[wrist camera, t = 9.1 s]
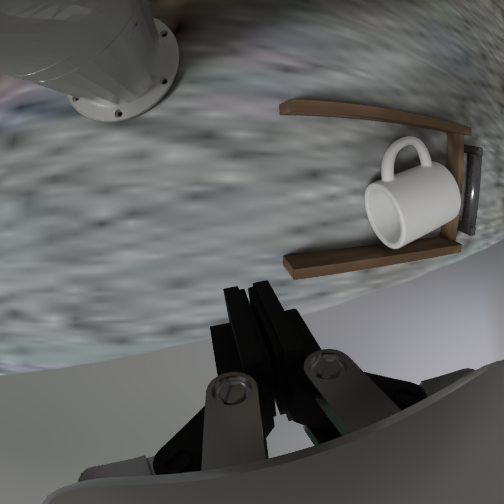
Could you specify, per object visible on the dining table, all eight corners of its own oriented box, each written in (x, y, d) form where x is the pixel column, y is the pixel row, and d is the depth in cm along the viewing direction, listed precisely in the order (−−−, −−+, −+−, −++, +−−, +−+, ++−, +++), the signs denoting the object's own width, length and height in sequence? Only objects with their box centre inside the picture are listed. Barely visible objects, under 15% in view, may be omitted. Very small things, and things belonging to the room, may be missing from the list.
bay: (279, 104, 28) (292, 98, 24) (464, 129, 33) (484, 131, 29) (283, 265, 35) (295, 281, 31) (455, 241, 40) (473, 250, 36)
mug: (424, 211, 37) (463, 228, 29) (370, 237, 36) (407, 259, 29) (409, 129, 32) (452, 131, 25) (349, 146, 31) (389, 150, 24)
